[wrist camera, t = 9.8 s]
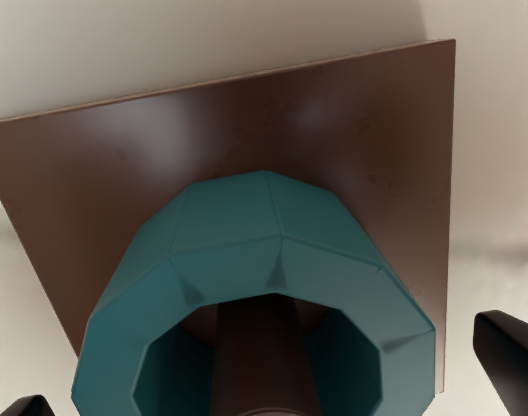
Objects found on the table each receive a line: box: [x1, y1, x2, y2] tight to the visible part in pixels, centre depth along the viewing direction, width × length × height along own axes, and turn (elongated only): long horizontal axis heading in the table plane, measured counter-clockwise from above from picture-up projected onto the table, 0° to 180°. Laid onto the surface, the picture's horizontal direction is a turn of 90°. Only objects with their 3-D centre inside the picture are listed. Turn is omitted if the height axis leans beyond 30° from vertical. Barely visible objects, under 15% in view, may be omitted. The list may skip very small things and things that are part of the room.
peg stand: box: [0, 39, 456, 416], centre depth 9 cm, size 11×11×6 cm
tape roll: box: [71, 170, 436, 416], centre depth 9 cm, size 7×7×4 cm
